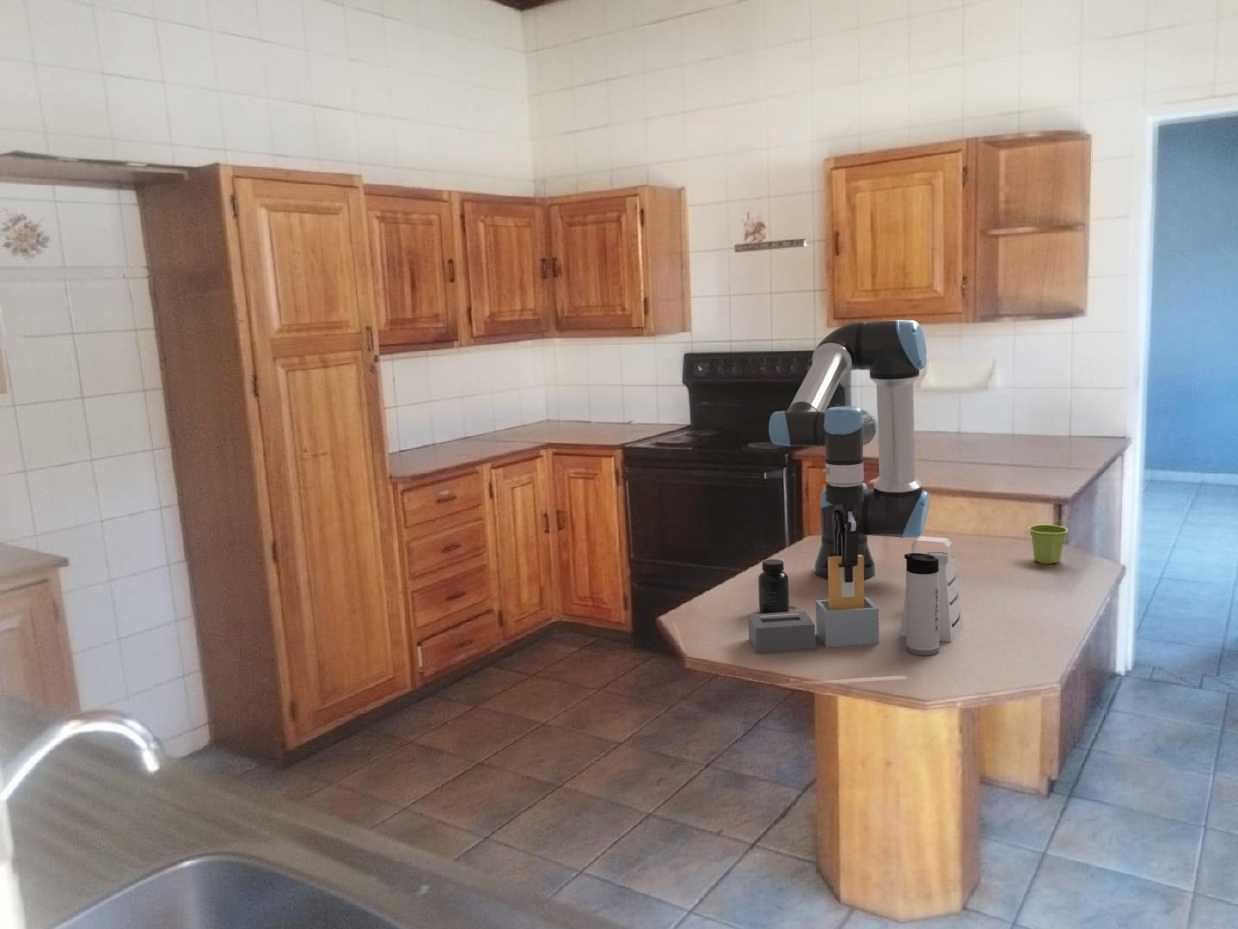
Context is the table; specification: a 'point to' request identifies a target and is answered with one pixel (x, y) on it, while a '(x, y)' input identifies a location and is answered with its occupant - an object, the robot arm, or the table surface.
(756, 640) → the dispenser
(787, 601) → the supplement bottle
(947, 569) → the grater
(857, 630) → the bin
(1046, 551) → the plant pot
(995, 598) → the table surface
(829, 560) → the orange rectangular block
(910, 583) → the travel mug
